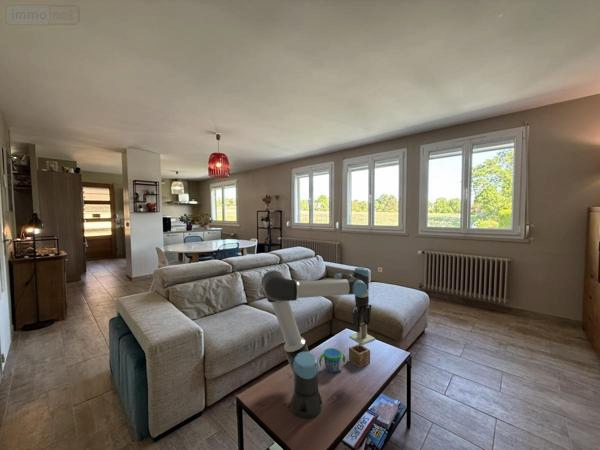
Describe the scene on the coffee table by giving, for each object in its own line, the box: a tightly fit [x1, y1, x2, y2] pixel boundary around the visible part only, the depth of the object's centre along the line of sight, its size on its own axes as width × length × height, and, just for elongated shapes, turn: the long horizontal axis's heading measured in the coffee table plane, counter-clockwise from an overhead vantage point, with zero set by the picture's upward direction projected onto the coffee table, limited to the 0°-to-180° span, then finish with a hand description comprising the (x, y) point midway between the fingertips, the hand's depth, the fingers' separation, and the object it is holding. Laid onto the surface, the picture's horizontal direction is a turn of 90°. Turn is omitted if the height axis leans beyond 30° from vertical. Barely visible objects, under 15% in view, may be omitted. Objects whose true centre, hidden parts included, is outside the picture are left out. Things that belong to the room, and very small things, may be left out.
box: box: [348, 343, 371, 368], centre depth 155 cm, size 9×9×8 cm
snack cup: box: [318, 347, 346, 374], centre depth 148 cm, size 16×10×10 cm
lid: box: [348, 322, 376, 346], centre depth 142 cm, size 10×10×8 cm
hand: (361, 336), depth 142 cm, fingers closed on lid, 3 cm apart
